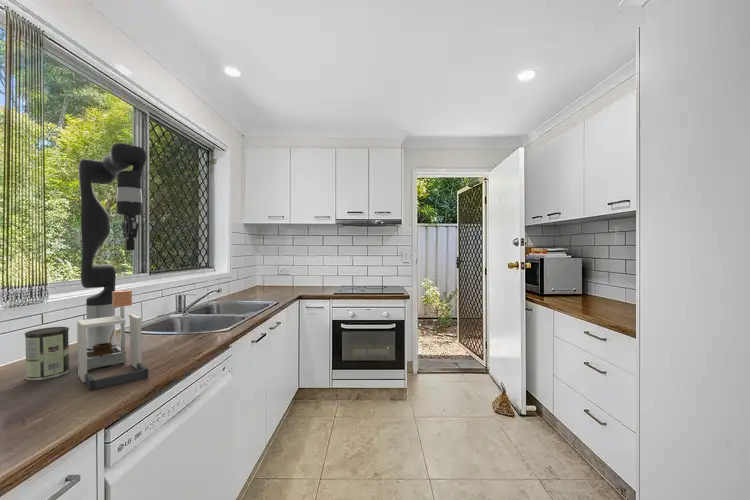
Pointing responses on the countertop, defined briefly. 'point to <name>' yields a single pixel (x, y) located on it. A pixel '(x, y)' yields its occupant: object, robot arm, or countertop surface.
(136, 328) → the white and grey frame
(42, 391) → the countertop surface
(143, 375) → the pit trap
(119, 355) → the slider
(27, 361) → the coffee can
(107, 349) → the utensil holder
